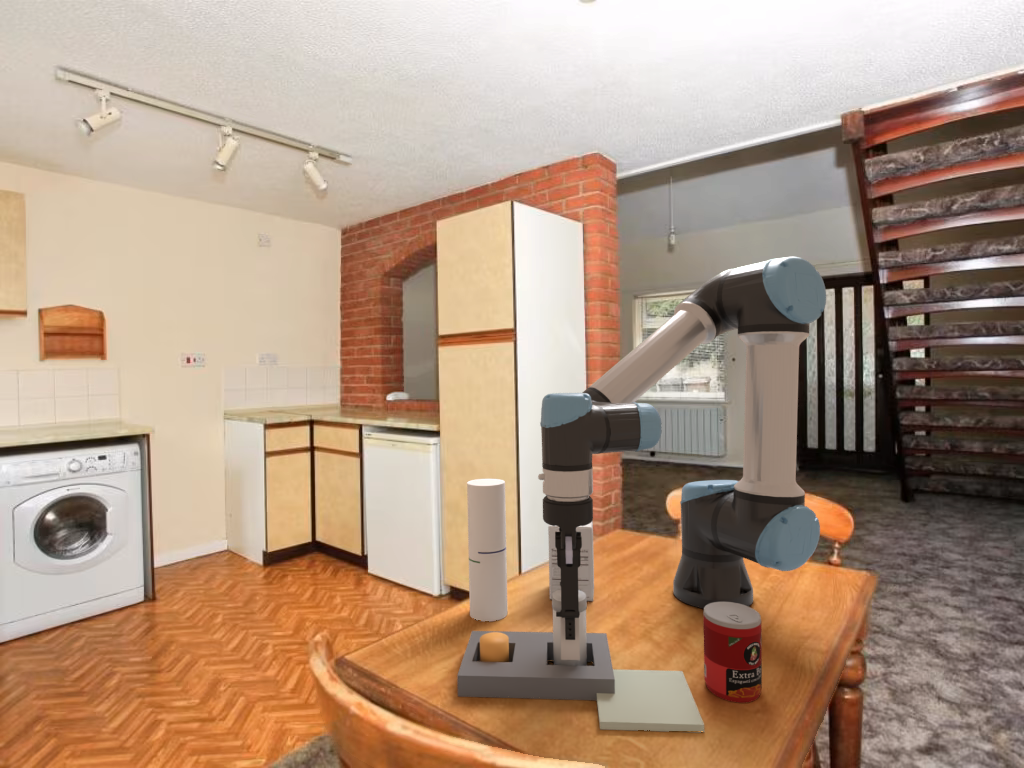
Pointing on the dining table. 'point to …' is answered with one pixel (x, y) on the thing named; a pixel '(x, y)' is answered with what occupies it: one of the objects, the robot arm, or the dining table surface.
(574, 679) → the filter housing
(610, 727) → the mat
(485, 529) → the cylindrical container
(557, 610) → the cartridge
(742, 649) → the canned food
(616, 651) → the dining table surface
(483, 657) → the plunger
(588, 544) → the supplement box
